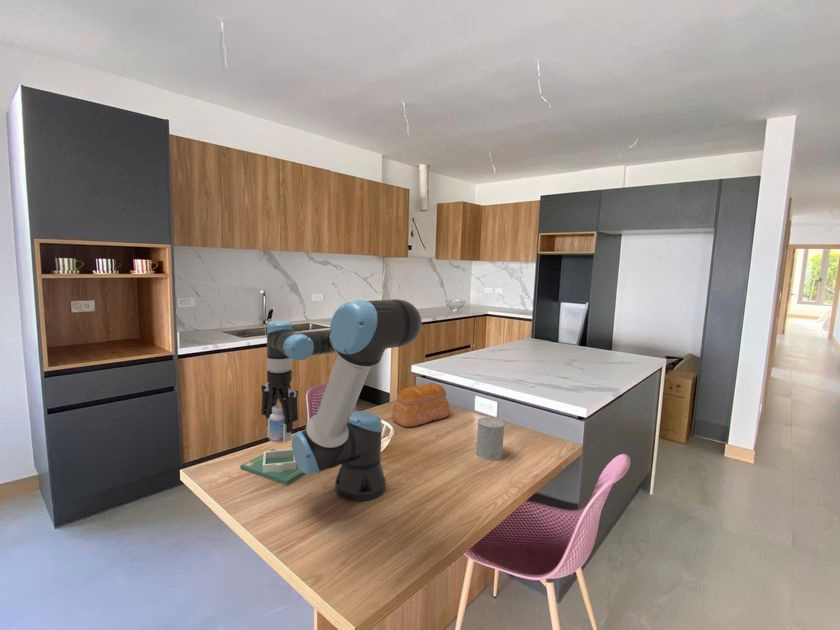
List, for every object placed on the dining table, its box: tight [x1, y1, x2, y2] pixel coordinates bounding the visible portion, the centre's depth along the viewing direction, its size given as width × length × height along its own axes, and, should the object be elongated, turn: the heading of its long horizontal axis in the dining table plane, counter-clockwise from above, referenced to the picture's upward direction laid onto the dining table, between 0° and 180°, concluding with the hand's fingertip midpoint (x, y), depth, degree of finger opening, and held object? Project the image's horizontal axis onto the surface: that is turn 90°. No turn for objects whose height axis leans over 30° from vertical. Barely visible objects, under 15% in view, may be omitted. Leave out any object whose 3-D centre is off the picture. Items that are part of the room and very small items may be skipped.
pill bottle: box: [268, 404, 285, 444], centre depth 137 cm, size 6×6×11 cm
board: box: [240, 448, 305, 486], centre depth 139 cm, size 20×14×4 cm
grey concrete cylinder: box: [475, 417, 505, 461], centre depth 154 cm, size 10×10×12 cm
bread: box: [391, 382, 450, 428], centre depth 187 cm, size 14×26×15 cm, turn 130°
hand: (279, 438), depth 138 cm, fingers closed on pill bottle, 6 cm apart
